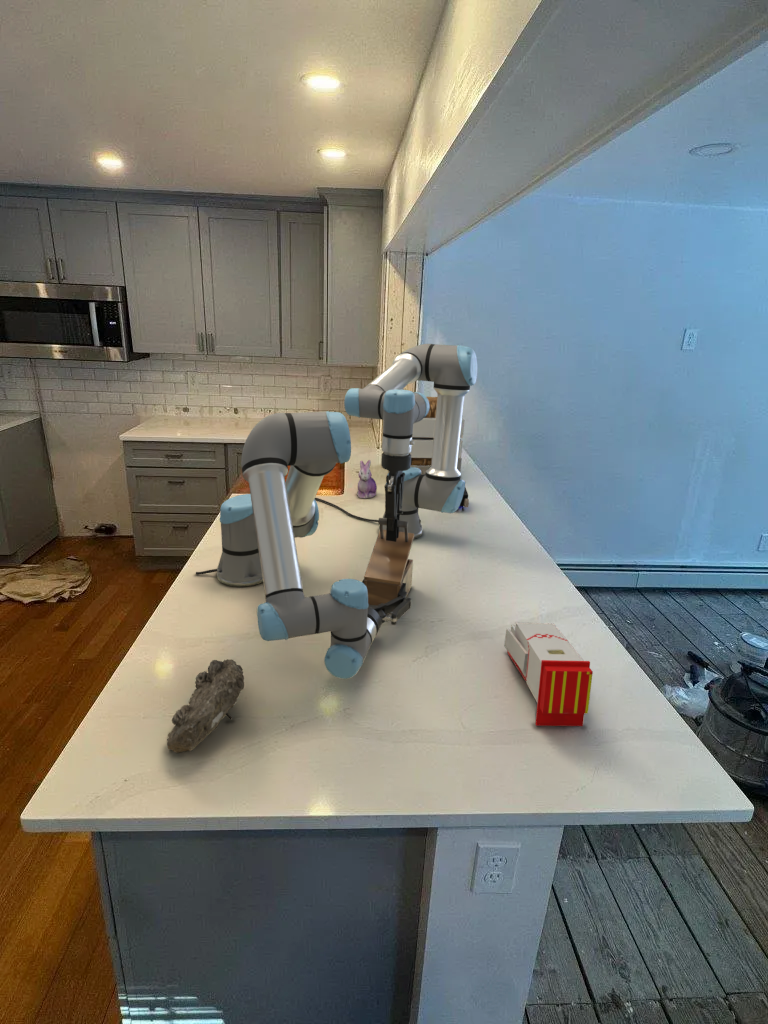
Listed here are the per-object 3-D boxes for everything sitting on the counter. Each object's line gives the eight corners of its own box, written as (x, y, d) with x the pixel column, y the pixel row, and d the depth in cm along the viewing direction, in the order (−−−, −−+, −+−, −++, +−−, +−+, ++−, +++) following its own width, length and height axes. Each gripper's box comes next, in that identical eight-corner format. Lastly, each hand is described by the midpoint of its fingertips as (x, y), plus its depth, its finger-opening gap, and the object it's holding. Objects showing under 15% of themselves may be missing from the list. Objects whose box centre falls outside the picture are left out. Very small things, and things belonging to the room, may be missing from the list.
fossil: (192, 660, 117) (244, 628, 112) (224, 691, 120) (276, 661, 115) (142, 746, 98) (202, 712, 93) (182, 779, 101) (242, 748, 96)
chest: (378, 581, 164) (380, 555, 161) (411, 586, 162) (413, 559, 159) (363, 609, 149) (364, 580, 146) (398, 615, 147) (400, 586, 144)
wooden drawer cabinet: (382, 463, 289) (386, 382, 275) (445, 464, 293) (451, 384, 279) (390, 482, 257) (394, 392, 243) (460, 483, 261) (468, 394, 247)
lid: (380, 531, 158) (378, 509, 152) (414, 536, 156) (413, 514, 150) (364, 579, 146) (361, 557, 140) (400, 585, 144) (399, 563, 138)
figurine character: (468, 516, 224) (463, 500, 237) (471, 498, 221) (465, 483, 234) (452, 515, 224) (447, 499, 237) (453, 498, 220) (449, 482, 234)
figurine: (361, 500, 232) (362, 464, 227) (351, 492, 241) (352, 458, 236) (382, 497, 237) (383, 462, 232) (371, 490, 245) (372, 456, 240)
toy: (550, 607, 134) (601, 667, 105) (545, 659, 137) (594, 732, 108) (499, 606, 134) (537, 666, 104) (495, 659, 137) (530, 731, 107)
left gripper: (314, 633, 132) (344, 591, 153) (408, 650, 127) (425, 604, 148) (315, 605, 130) (344, 565, 150) (410, 621, 125) (427, 578, 145)
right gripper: (405, 461, 135) (400, 551, 143) (416, 447, 149) (411, 530, 157) (374, 458, 137) (371, 547, 145) (389, 444, 150) (385, 527, 159)
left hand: (385, 584), depth 149 cm, fingers closed on chest, 10 cm apart
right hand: (392, 538), depth 151 cm, fingers closed on lid, 2 cm apart
